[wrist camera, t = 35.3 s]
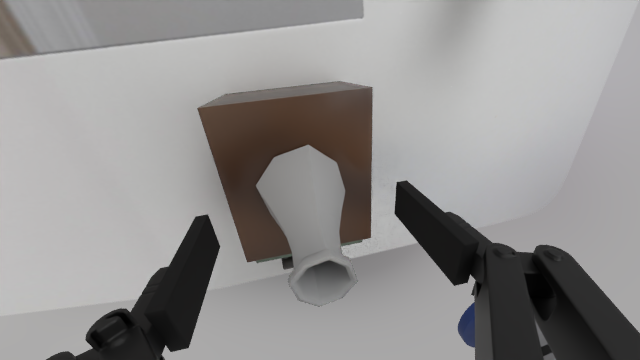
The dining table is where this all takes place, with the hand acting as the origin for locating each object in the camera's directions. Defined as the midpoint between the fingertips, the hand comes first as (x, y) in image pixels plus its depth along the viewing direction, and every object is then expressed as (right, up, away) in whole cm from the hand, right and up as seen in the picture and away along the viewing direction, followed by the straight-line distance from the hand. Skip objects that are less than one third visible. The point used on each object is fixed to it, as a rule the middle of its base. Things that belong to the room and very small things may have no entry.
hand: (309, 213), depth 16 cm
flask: (-1, +2, +4) cm, 4 cm away
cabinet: (-3, +6, +12) cm, 14 cm away
